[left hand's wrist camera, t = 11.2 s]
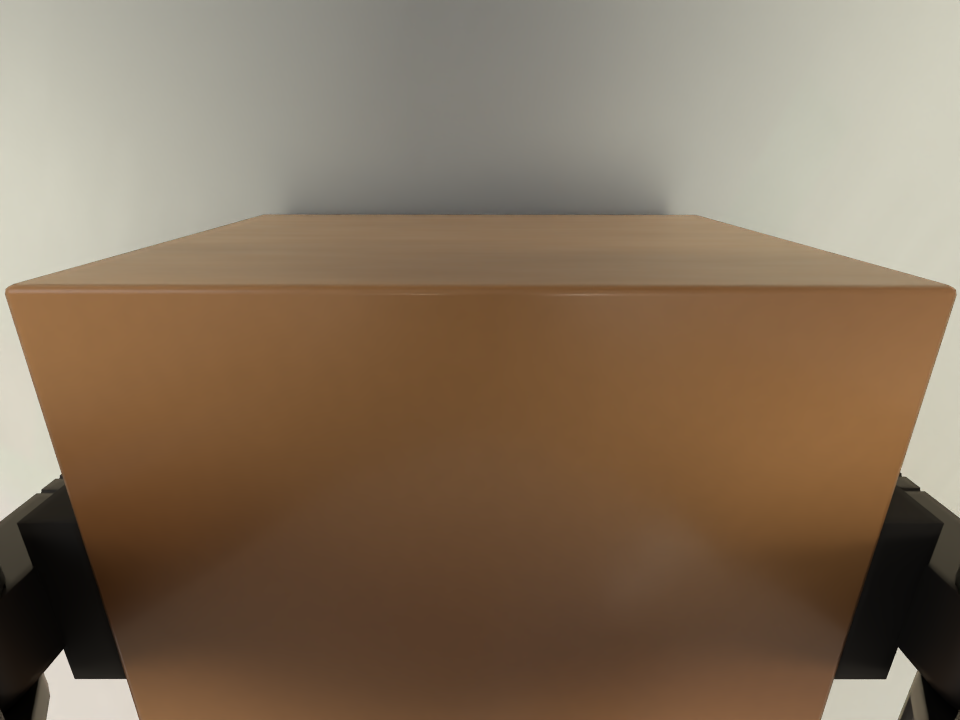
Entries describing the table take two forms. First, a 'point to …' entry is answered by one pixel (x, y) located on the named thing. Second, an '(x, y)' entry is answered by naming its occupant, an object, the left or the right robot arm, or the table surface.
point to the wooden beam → (480, 462)
